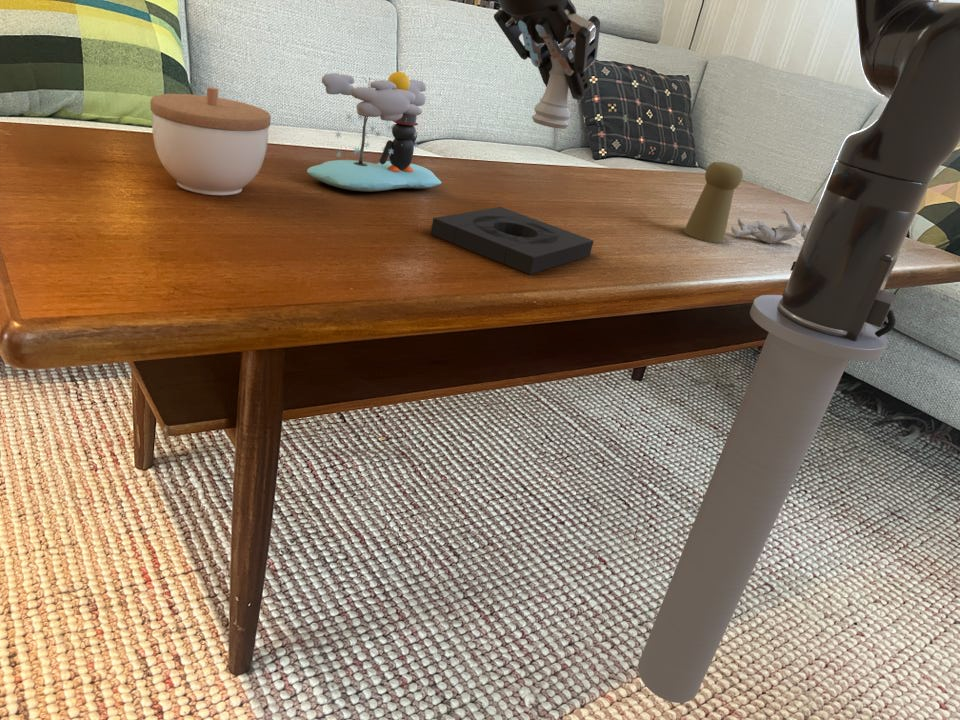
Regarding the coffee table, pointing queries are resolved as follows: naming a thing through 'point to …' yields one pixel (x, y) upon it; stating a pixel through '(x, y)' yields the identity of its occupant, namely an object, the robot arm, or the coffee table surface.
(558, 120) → the rook chess piece
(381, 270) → the coffee table surface
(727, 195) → the brown game pawn
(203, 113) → the lidded bowl
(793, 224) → the soldier figure
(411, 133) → the penguin figurine
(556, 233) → the pad
